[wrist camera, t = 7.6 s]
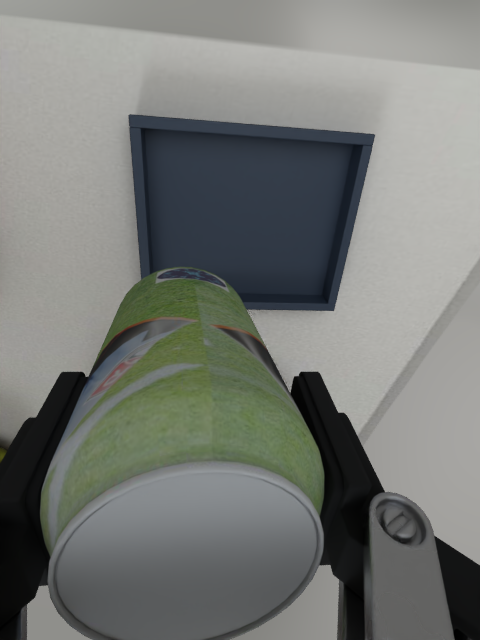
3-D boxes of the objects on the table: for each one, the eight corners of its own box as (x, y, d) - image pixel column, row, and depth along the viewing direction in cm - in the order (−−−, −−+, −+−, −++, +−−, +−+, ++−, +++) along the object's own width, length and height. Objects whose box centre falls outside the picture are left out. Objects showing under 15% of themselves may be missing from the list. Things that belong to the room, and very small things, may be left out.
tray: (134, 114, 27) (128, 114, 24) (362, 133, 29) (375, 134, 27) (147, 295, 34) (143, 308, 32) (326, 299, 37) (334, 311, 34)
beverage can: (110, 350, 17) (-30, 689, 7) (145, 211, 14) (-18, 463, 4) (226, 379, 19) (252, 689, 9) (282, 260, 16) (430, 531, 5)
